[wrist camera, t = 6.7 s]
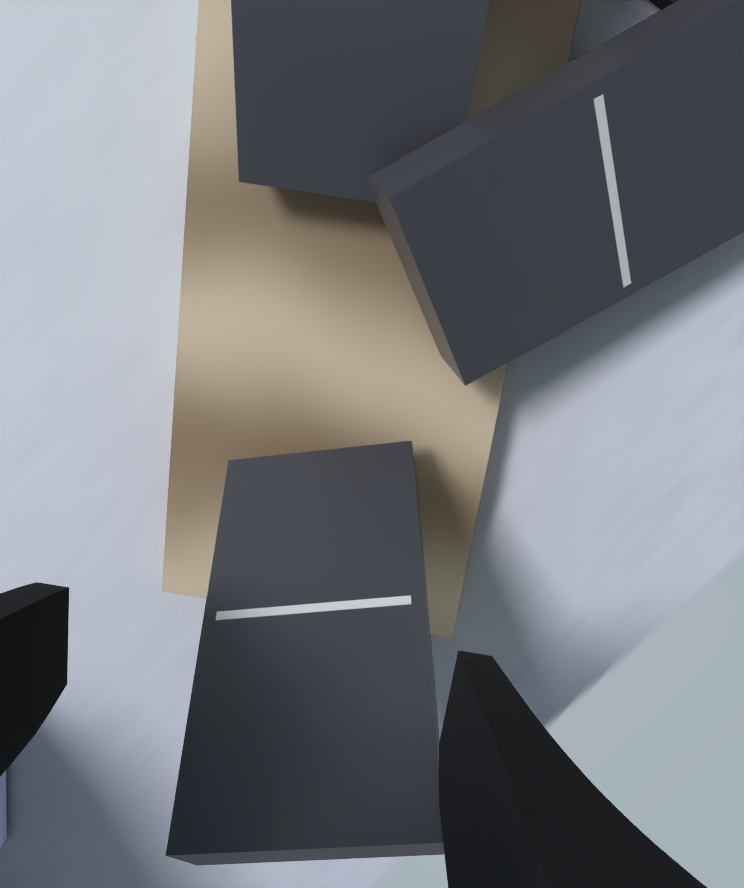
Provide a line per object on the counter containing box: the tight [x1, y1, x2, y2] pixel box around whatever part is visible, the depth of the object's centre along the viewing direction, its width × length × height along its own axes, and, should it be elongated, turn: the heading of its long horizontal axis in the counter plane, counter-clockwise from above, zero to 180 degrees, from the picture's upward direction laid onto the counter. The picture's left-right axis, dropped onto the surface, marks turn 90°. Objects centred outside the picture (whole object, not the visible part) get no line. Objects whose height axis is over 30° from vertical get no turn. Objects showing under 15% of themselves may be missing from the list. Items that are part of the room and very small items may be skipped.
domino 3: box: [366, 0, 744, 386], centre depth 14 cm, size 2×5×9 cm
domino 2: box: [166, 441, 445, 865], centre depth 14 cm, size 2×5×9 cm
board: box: [162, 0, 580, 638], centre depth 17 cm, size 21×9×1 cm, turn 172°
